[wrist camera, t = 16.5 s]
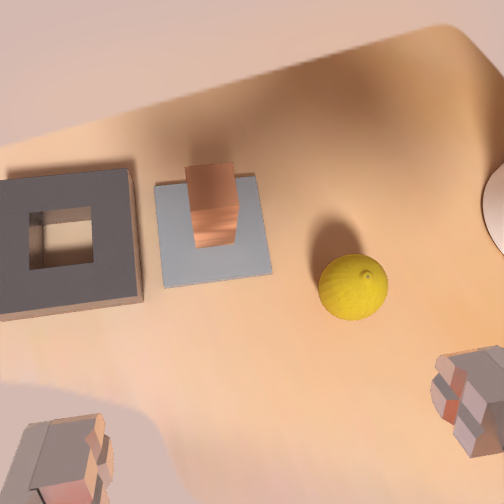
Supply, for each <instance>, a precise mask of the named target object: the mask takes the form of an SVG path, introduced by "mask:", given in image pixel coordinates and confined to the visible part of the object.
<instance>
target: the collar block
mask: <svg viewBox="0 0 504 504" xmlns="http://www.w3.org/2000/svg"><path fill="white" fill-rule="evenodd" d="M84 220H92V240H93V259H94V262H92V263H84V264H75V265H67V266H59V267H51V268H43V225H48V224H57V223H66V222H75V221H84ZM142 302H143V290H142V278H141V267H140V255H139V243H138V231H137V219H136V207H135V195H134V183H133V180H132V178H131V176H130V173H129V171H128V168H123V169H113V170H102V171H92V172H82V173H71V174H61V175H51V176H40V177H30V178H20V179H9V180H0V321H11V320H18V319H25V318H33V317H40V316H47V315H54V314H62V313H69V312H76V311H84V310H91V309H98V308H105V307H113V306H120V305H127V304H135V303H142Z"/></svg>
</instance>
